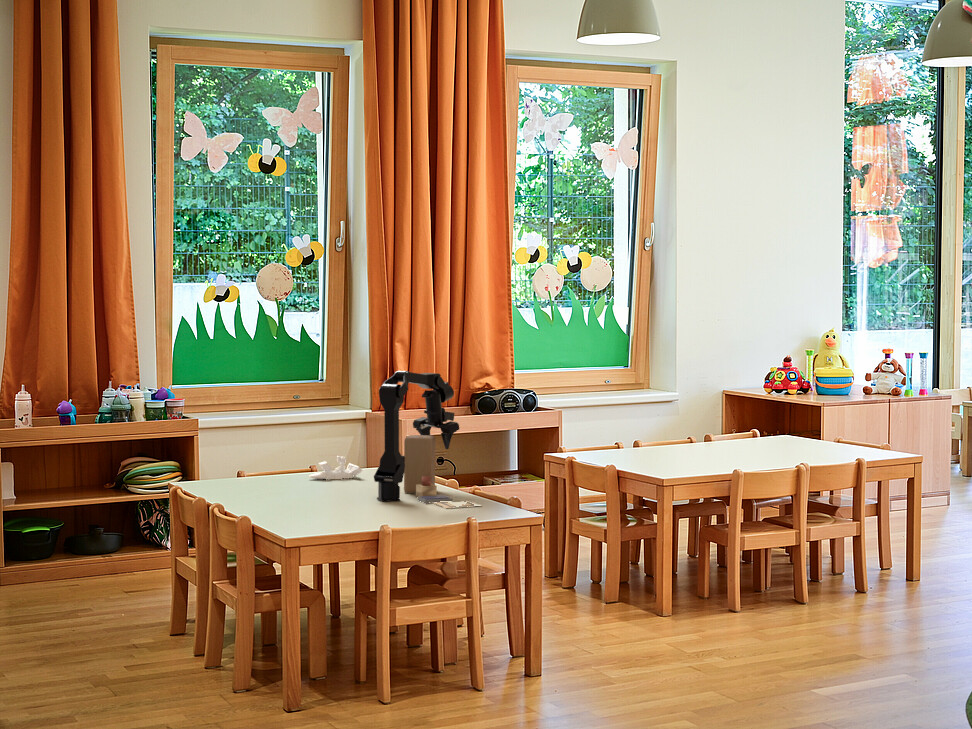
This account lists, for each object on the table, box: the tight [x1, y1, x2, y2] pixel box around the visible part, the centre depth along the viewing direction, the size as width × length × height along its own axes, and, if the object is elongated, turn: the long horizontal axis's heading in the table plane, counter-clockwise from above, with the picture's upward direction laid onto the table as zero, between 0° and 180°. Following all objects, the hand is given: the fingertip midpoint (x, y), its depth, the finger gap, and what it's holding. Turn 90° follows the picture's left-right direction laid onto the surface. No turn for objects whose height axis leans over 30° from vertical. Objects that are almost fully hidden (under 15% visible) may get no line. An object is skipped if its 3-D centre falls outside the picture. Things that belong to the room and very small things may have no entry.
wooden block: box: [403, 434, 436, 494], centre depth 411 cm, size 10×10×20 cm
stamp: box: [415, 476, 438, 498], centre depth 397 cm, size 6×6×8 cm
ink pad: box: [417, 494, 453, 504], centre depth 390 cm, size 10×7×2 cm
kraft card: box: [434, 500, 475, 509], centre depth 382 cm, size 13×11×1 cm
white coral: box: [308, 455, 364, 480], centre depth 441 cm, size 11×20×9 cm, turn 115°
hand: (438, 447), depth 418 cm, fingers open, 9 cm apart
